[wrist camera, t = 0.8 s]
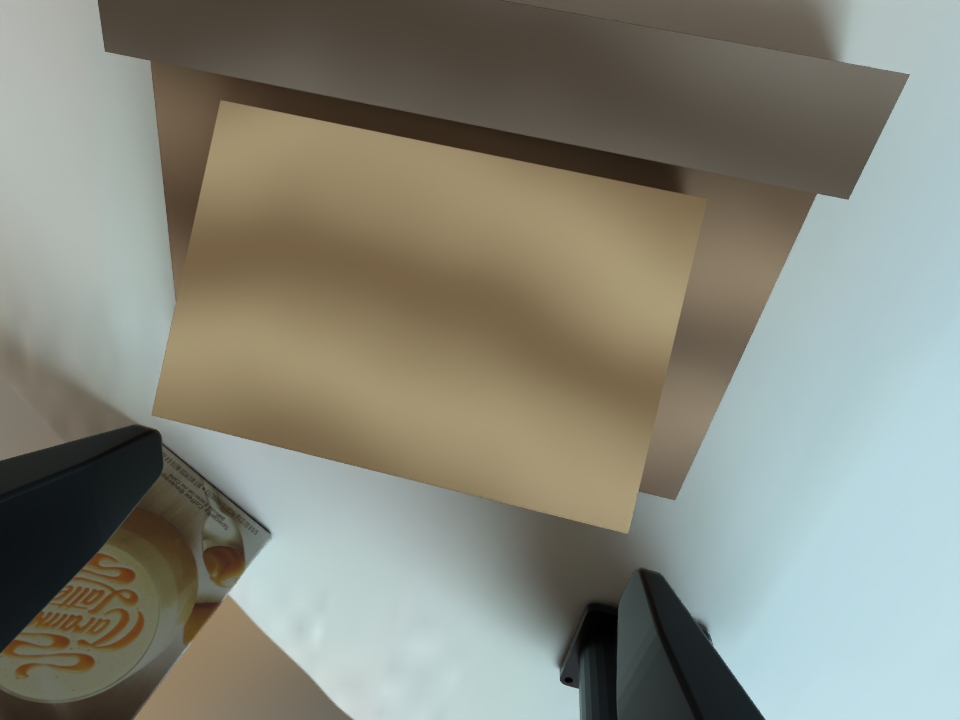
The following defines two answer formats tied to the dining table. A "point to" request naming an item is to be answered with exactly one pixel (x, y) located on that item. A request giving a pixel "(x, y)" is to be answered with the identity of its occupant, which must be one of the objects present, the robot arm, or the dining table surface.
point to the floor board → (711, 282)
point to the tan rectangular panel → (429, 312)
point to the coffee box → (131, 605)
